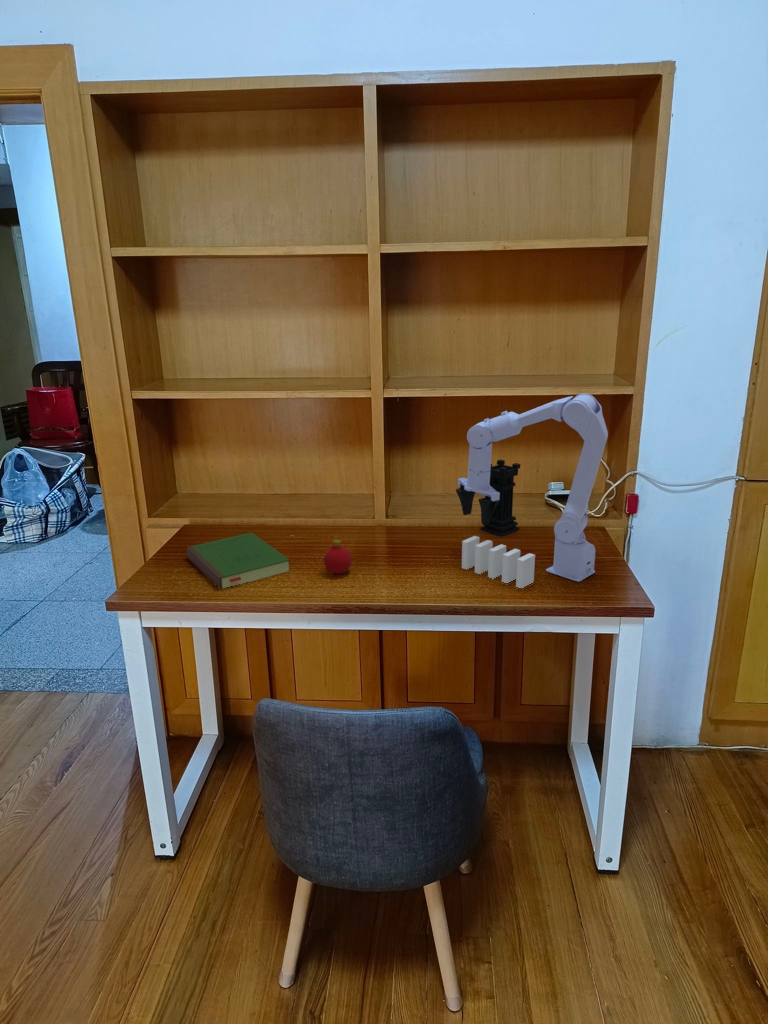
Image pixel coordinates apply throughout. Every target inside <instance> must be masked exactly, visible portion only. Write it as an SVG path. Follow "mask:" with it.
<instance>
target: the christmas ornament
mask: <svg viewBox="0 0 768 1024" xmlns="http://www.w3.org/2000/svg"><path fill="white" fill-rule="evenodd" d="M337 537H338V539H336V538H337ZM352 562H353V561H352V555H351V552H350V551H349V549H347V548H346V547H345V546H342V540H341V539H340V536H339V535H336V536H334V538H333V540H332V546H331V547H330V548H328V550H327V551H326V552H325V554H324V556H323V563H324V566H325V568H326V570H327V571H329V573H332V574H336V575H341V574H344V573H345V572H347V571H348V570H349V568H350V567H351V566H352Z"/></svg>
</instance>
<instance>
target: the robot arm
mask: <svg viewBox="0 0 768 1024" xmlns="http://www.w3.org/2000/svg"><path fill="white" fill-rule="evenodd" d="M602 409H603V408H602V405H601V404H600V403H599V401H598V400H597V399H596V397H594V396H593V395H592V394H589V393H580V394H577V395H575V397H574V395H573V396H572V395H571V396H567V397H563V398H559V399H555V400H553V401H551V402H548V403H545V404H543V405H540V406H538V407H535V408H533V409H530V410H527V411H525V412H522V413H520V414H519V413H516V412H514V411H509V412H508V410H505V411H502V412H501V413H500V415H498V416H496V417H492V418H489V417H487V418H485V419H483V421H480V422H478V423H476V424H475V425H473V426H471V427H470V428H469V429H468V431H467V434H466V439H467V442H468V444H469V449H468V450H469V452H468V464H467V465H468V466H467V478H466V477H460V478H457V486H458V487H459V488H456V489H455V492H456V494H457V496H458V498H459V499H458V500H459V502H460V504H461V511H462V513H463V514H462V515H463V516H467V515H471V514H472V509H473V501H474V498H475V494H476V493H477V494H480V495H481V496H484V497H482V498H478V503H479V506H480V513H481V515H480V521H481V524H488V523H489V522H490V519H491V516H492V514H493V511H494V509H495V508H496V506H497V505H498V503H499V502H500V498H499V497H500V493H499V492H497V491H496V490H495V489H493V488H492V487H491V486H490V471H491V464H492V455H493V454H492V452H493V451H492V449H493V442H499V441H502V440H505V439H508V438H510V437H514V436H517V435H519V434H521V431H522V429H523V427H527V426H530V425H533V424H536V423H539V422H543V421H546V420H550V419H553V420H555V421H557V422H560V423H561V422H563V421H564V422H565V424H567V425H568V426H569V427H570V428H572V429H573V430H575V431H576V432H577V433H578V434H579V436H580V437H581V438H582V440H583V441H584V442H583V446H582V449H581V452H580V456H579V459H578V463H577V466H576V470H575V473H574V476H573V480H572V484H571V486H570V491H569V494H568V498H567V502H566V504H565V507H564V508H563V511H562V512H561V513H562V514H561V516H560V518H559V519H558V520H557V521H556V522H555V524H554V527H553V533H554V536H555V538H554V552H553V554H554V555H553V563H552V564H553V565H552V566H550V567H547V568H546V569H545V571H546V572H547V573H549V574H553V575H557V576H560V577H562V578H566V579H569V580H572V581H575V582H582V581H583V580H585V579H587V578H588V577H589V576H591V575H593V574H594V573H596V570H595V562H596V561H595V560H596V547H595V545H594V544H592V543H591V542H588V541H587V539H586V535H585V533H584V529H586V527H587V526H588V523H589V518H588V517H589V516H588V510H589V501H590V499H591V498H590V497H591V495H592V491H593V488H594V484H595V481H596V478H597V475H598V471H599V467H600V464H601V461H602V458H603V454H604V451H605V447H606V444H607V441H608V438H609V431H608V428H607V424H606V422H605V418H604V415H603V410H602Z"/></svg>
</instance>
